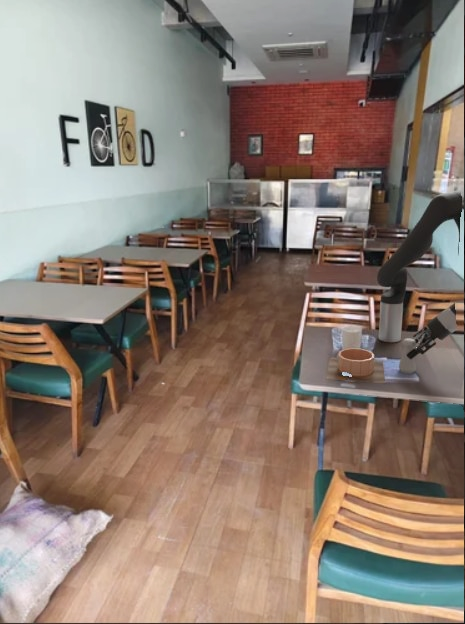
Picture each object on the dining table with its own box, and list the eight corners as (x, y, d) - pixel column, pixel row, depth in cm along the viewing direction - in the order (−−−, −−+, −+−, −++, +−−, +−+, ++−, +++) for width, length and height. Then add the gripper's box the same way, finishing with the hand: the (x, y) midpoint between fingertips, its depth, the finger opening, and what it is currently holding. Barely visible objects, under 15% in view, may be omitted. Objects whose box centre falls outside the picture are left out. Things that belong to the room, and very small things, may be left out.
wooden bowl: (339, 361, 166) (339, 347, 165) (373, 364, 163) (373, 349, 161) (337, 375, 155) (337, 359, 153) (373, 378, 151) (374, 362, 150)
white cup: (342, 355, 175) (343, 332, 172) (340, 348, 182) (341, 326, 180) (362, 355, 174) (363, 332, 171) (359, 348, 181) (360, 325, 178)
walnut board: (329, 359, 171) (330, 357, 171) (382, 362, 165) (382, 361, 165) (326, 380, 153) (326, 378, 152) (385, 385, 147) (385, 383, 147)
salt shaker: (417, 376, 153) (419, 342, 149) (400, 376, 154) (402, 342, 150) (413, 370, 158) (416, 336, 154) (397, 369, 159) (399, 336, 156)
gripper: (433, 310, 154) (398, 338, 160) (440, 322, 141) (401, 352, 147) (448, 325, 154) (412, 352, 160) (456, 338, 141) (416, 368, 147)
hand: (407, 352), depth 154 cm, fingers open, 8 cm apart
